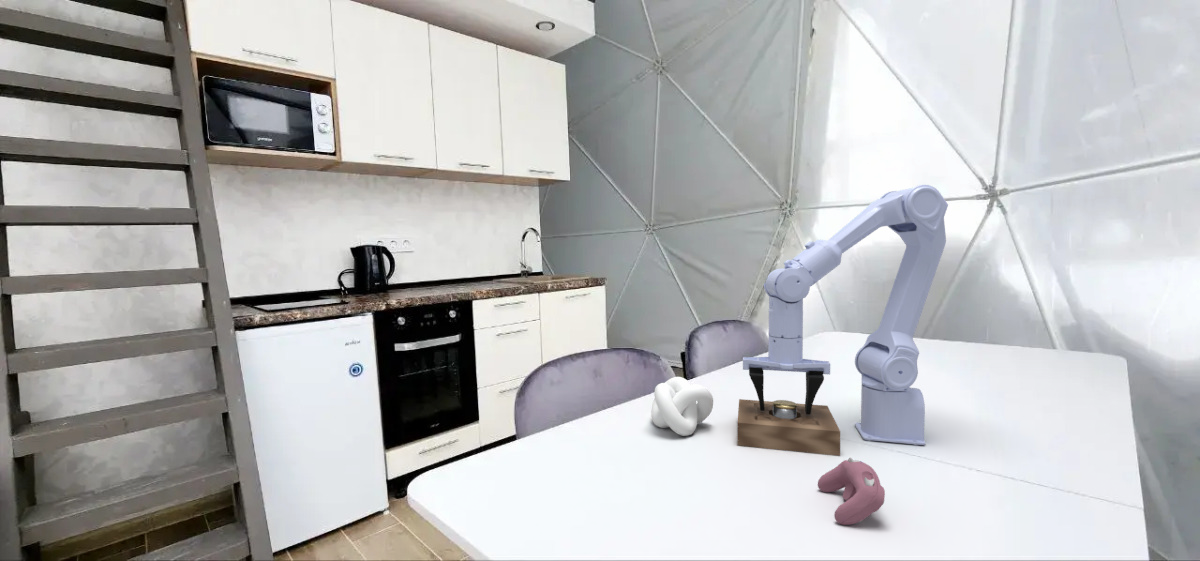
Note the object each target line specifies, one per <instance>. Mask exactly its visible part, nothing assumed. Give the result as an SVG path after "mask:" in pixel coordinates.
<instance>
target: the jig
mask: <svg viewBox="0 0 1200 561" xmlns="http://www.w3.org/2000/svg"><path fill="white" fill-rule="evenodd" d="M795 403H796V402H795ZM796 404H797V418H795V419H785V418H778V417H775V416H773V401H766V400H764V411H760V403H759V400H755V399H741V398H739V399H738V408H737V409H738V411H737V436H736V437H737V438H736V439H737V440H736V446H739V447H749V448H759V449H770V450H776V451H790V452H799V453H808V454H819V455H827V456H838V457H840V456H841V430H840V428H839V426H838V424H837V421H836V420H835V418H834V416H833V414H832V412H831V410H830V408H829V405H823V404H812V408H811V414H810V415H809V414H806V412H805V403H796Z"/></svg>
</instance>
